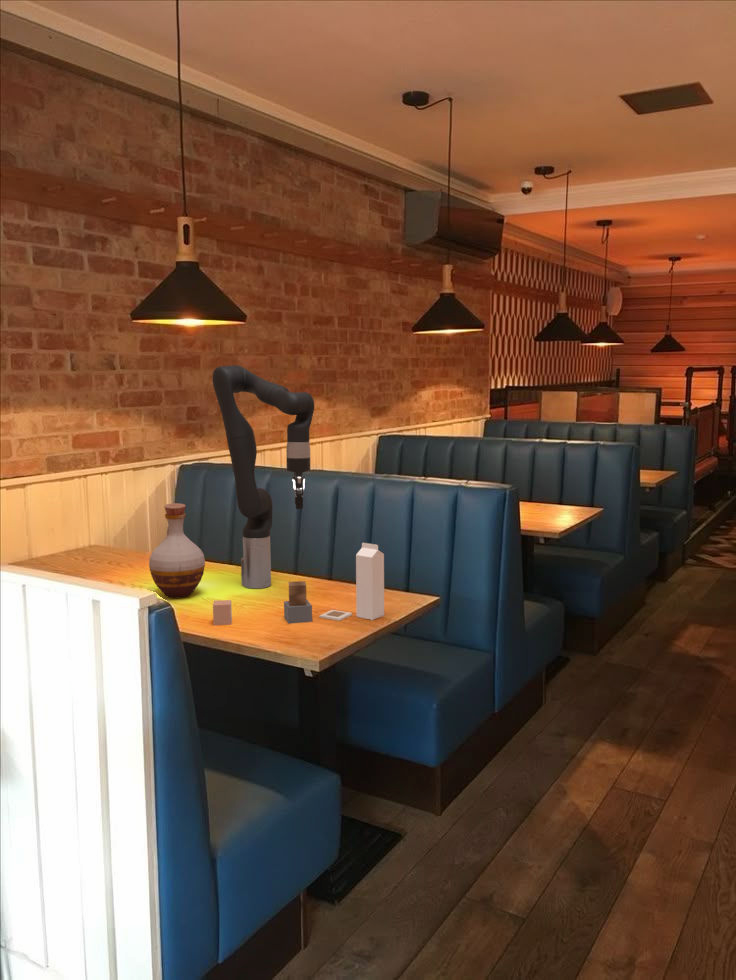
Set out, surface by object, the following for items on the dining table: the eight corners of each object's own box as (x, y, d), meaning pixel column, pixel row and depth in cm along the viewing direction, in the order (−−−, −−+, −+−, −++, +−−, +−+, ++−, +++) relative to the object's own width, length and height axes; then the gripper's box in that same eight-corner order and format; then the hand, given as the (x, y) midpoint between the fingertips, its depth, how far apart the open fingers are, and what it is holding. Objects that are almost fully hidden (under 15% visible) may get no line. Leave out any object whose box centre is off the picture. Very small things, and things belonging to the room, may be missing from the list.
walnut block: (289, 606, 242) (288, 585, 241) (289, 601, 247) (288, 581, 246) (306, 605, 242) (306, 585, 242) (305, 600, 247) (305, 581, 247)
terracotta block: (213, 625, 240) (212, 605, 239) (214, 620, 245) (214, 600, 244) (231, 624, 240) (230, 604, 240) (231, 619, 245) (231, 600, 245)
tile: (319, 617, 247) (319, 614, 247) (332, 611, 253) (332, 609, 253) (339, 620, 243) (339, 618, 243) (351, 614, 249) (351, 612, 249)
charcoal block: (288, 624, 241) (288, 607, 240) (284, 617, 248) (283, 601, 247) (312, 622, 243) (312, 605, 242) (307, 615, 250) (307, 599, 249)
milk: (368, 612, 252) (368, 540, 249) (384, 615, 248) (384, 543, 246) (356, 616, 247) (355, 544, 244) (372, 620, 244) (371, 546, 241)
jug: (143, 591, 279) (139, 502, 274) (196, 584, 287) (193, 498, 283) (157, 605, 261) (153, 510, 257) (212, 597, 269) (209, 506, 265)
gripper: (311, 458, 256) (311, 510, 258) (309, 453, 270) (309, 503, 272) (286, 458, 255) (287, 510, 257) (286, 453, 269) (286, 503, 271)
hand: (298, 506), depth 265 cm, fingers open, 8 cm apart
